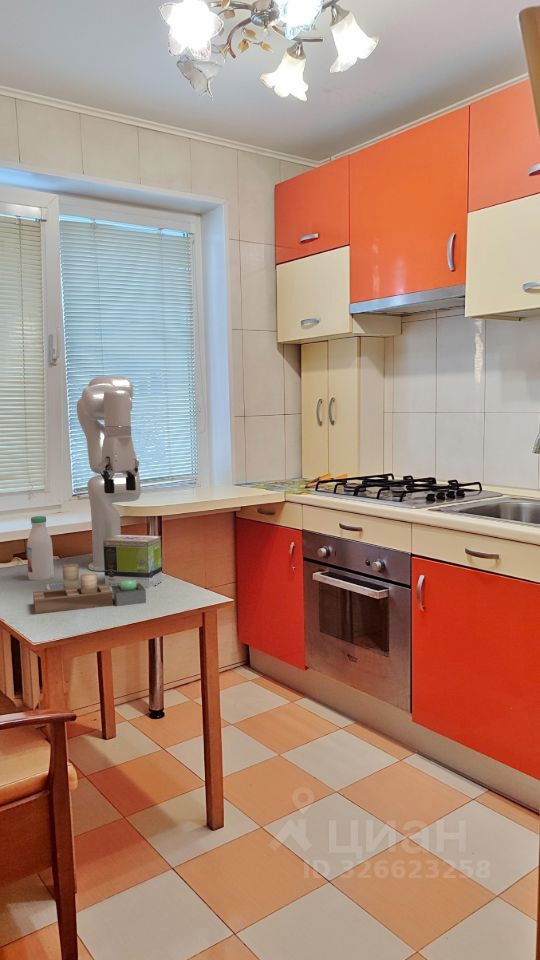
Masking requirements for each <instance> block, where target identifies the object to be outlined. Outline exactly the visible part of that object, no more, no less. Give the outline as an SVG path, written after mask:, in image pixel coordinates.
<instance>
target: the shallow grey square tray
mask: <svg viewBox="0 0 540 960" xmlns="http://www.w3.org/2000/svg"><path fill="white" fill-rule="evenodd" d="M79 587H81V580H79ZM55 589H64V587H63V582H57V583H50V584H49V583H48V584H46V590H55Z"/></svg>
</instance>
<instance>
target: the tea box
mask: <svg viewBox="0 0 540 960" xmlns="http://www.w3.org/2000/svg"><path fill="white" fill-rule="evenodd" d="M161 537H162V536H161V535H141V534H140V535H139V534H138V535H135V534H132V535H131V534H121V535H116V536H113V537H111V538H108V539H105V540H103V548H104V571H103V572H104V584H107V586H108V587H112V586H120V581H122V580H126V579H133V580H136V584H139V583H140V584H141V585H142V587H143V588H144V589H151V588H153V586H154V587H156V586H157V585H159V584H161V583H162V582H163V564H162V562H163V561H162V560H163V559H162V539H161ZM160 582H161V583H160ZM158 583H159V584H158ZM155 585H156V586H155Z"/></svg>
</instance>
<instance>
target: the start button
mask: <svg viewBox="0 0 540 960" xmlns="http://www.w3.org/2000/svg"><path fill="white" fill-rule="evenodd" d="M120 590H121V591H130V590H137V589H136V580H133V579H126V580H122V581H120Z"/></svg>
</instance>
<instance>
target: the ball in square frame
mask: <svg viewBox="0 0 540 960" xmlns="http://www.w3.org/2000/svg"><path fill="white" fill-rule="evenodd" d="M136 589H137V590H130V591H121V590H120V586H111V592H112V602H113V603H114V604H115V605H116V607H120V606H129V605H138V604H146V603H147V593H146V592H147V591H146V588H143V587H142V585H141V584H140V583H139V584H136Z"/></svg>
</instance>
